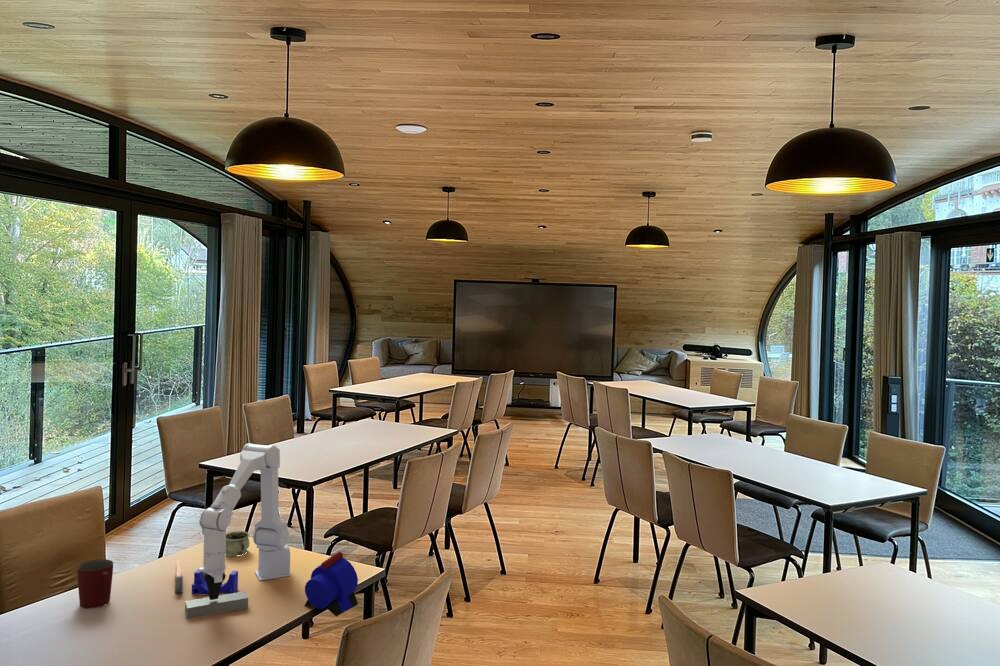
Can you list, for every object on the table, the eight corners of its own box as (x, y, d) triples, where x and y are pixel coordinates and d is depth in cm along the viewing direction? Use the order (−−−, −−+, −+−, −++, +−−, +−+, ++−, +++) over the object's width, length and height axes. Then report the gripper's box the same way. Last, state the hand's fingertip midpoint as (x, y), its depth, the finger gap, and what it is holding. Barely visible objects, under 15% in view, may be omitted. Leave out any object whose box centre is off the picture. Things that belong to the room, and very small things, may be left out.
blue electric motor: (359, 603, 211) (361, 553, 210) (331, 619, 200) (332, 566, 200) (327, 594, 217) (329, 545, 216) (298, 609, 206) (299, 557, 205)
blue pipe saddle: (191, 594, 213) (191, 574, 213) (198, 588, 218) (198, 568, 217) (231, 596, 213) (232, 576, 213) (237, 590, 217) (238, 570, 217)
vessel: (257, 554, 247) (257, 536, 246) (233, 561, 240) (234, 542, 240) (238, 545, 254) (238, 528, 254) (214, 551, 247) (215, 533, 247)
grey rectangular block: (244, 601, 210) (244, 590, 209) (248, 608, 205) (248, 597, 205) (184, 611, 202) (184, 600, 201) (187, 618, 197) (187, 608, 197)
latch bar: (174, 573, 227) (174, 559, 226) (181, 572, 228) (181, 558, 227) (175, 593, 212) (175, 578, 212) (182, 592, 213) (182, 577, 213)
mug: (123, 605, 203) (124, 567, 203) (90, 616, 196) (91, 576, 196) (103, 593, 211) (104, 556, 210) (71, 603, 203) (71, 565, 203)
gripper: (195, 544, 205) (194, 591, 206) (203, 561, 193) (202, 611, 194) (221, 541, 209) (220, 587, 210) (230, 558, 197) (229, 606, 197)
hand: (213, 598), depth 202 cm, fingers closed
